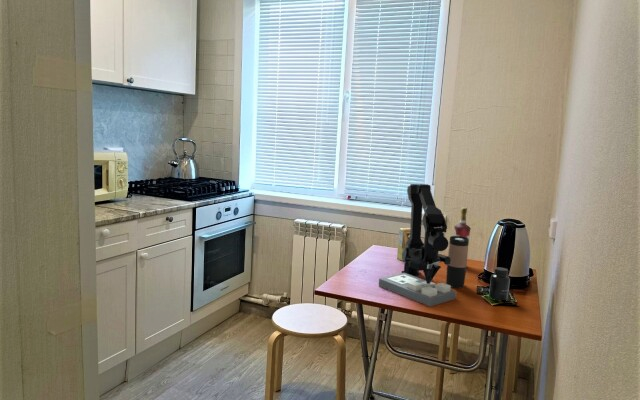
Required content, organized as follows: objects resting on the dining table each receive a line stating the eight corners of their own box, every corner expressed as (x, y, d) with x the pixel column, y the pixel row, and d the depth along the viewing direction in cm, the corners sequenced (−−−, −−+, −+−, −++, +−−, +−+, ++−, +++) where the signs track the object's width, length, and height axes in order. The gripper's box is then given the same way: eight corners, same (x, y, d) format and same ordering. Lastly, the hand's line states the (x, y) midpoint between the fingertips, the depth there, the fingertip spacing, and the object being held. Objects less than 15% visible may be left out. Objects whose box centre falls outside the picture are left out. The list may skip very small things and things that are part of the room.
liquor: (449, 263, 225) (454, 206, 221) (465, 264, 225) (470, 207, 221) (452, 267, 218) (457, 208, 214) (468, 269, 218) (474, 209, 213)
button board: (403, 279, 198) (404, 272, 197) (455, 298, 178) (456, 290, 177) (378, 285, 189) (379, 277, 188) (430, 306, 169) (430, 297, 168)
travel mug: (451, 280, 199) (455, 235, 196) (468, 285, 194) (472, 238, 191) (441, 284, 194) (446, 237, 191) (458, 289, 188) (463, 241, 185)
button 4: (441, 290, 181) (442, 282, 180) (450, 293, 178) (450, 285, 177) (434, 292, 178) (435, 284, 178) (443, 295, 175) (444, 287, 175)
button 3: (428, 294, 176) (428, 286, 175) (436, 297, 173) (437, 289, 172) (421, 296, 173) (421, 288, 173) (429, 299, 170) (430, 291, 170)
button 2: (426, 288, 186) (427, 280, 186) (434, 291, 183) (435, 283, 183) (420, 290, 184) (420, 282, 183) (428, 293, 181) (429, 285, 180)
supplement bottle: (505, 303, 175) (509, 272, 173) (486, 299, 179) (489, 269, 177) (509, 298, 181) (512, 268, 179) (490, 294, 184) (493, 265, 182)
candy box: (411, 257, 233) (414, 227, 231) (416, 259, 230) (419, 229, 227) (396, 258, 230) (398, 228, 228) (401, 260, 226) (403, 229, 224)
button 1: (413, 288, 181) (414, 280, 181) (421, 292, 178) (422, 283, 178) (406, 290, 179) (407, 282, 178) (414, 293, 176) (415, 285, 175)
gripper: (430, 237, 193) (427, 273, 195) (399, 242, 181) (396, 281, 184) (452, 243, 184) (449, 281, 187) (422, 249, 173) (418, 289, 175)
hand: (428, 283), depth 183 cm, fingers closed, pressing on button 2
